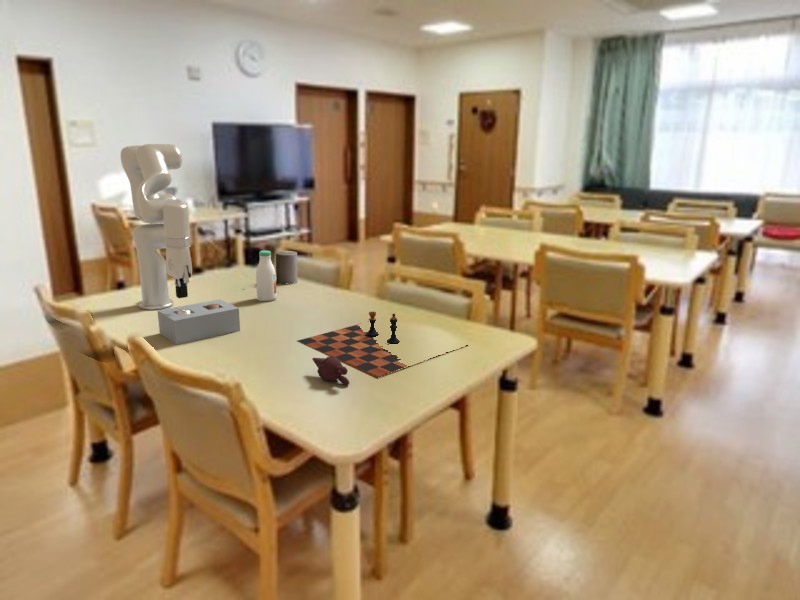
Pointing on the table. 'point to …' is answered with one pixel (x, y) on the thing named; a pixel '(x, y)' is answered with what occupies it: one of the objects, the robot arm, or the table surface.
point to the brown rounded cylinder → (212, 306)
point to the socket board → (198, 321)
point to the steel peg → (183, 311)
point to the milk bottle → (265, 278)
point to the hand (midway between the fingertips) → (182, 296)
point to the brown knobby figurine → (331, 369)
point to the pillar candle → (286, 267)
